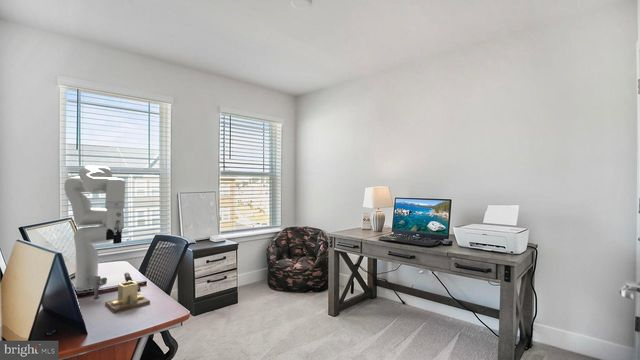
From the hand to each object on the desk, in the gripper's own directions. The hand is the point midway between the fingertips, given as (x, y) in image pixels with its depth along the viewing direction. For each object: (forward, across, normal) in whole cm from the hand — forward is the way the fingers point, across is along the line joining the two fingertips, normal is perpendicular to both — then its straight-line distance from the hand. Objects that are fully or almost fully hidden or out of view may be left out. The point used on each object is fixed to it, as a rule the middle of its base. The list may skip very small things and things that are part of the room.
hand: (113, 241), depth 147 cm
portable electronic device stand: (+29, +9, -12) cm, 32 cm away
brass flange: (+26, -11, -3) cm, 28 cm away
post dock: (+27, -11, -3) cm, 30 cm away
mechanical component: (+28, +9, +4) cm, 30 cm away
